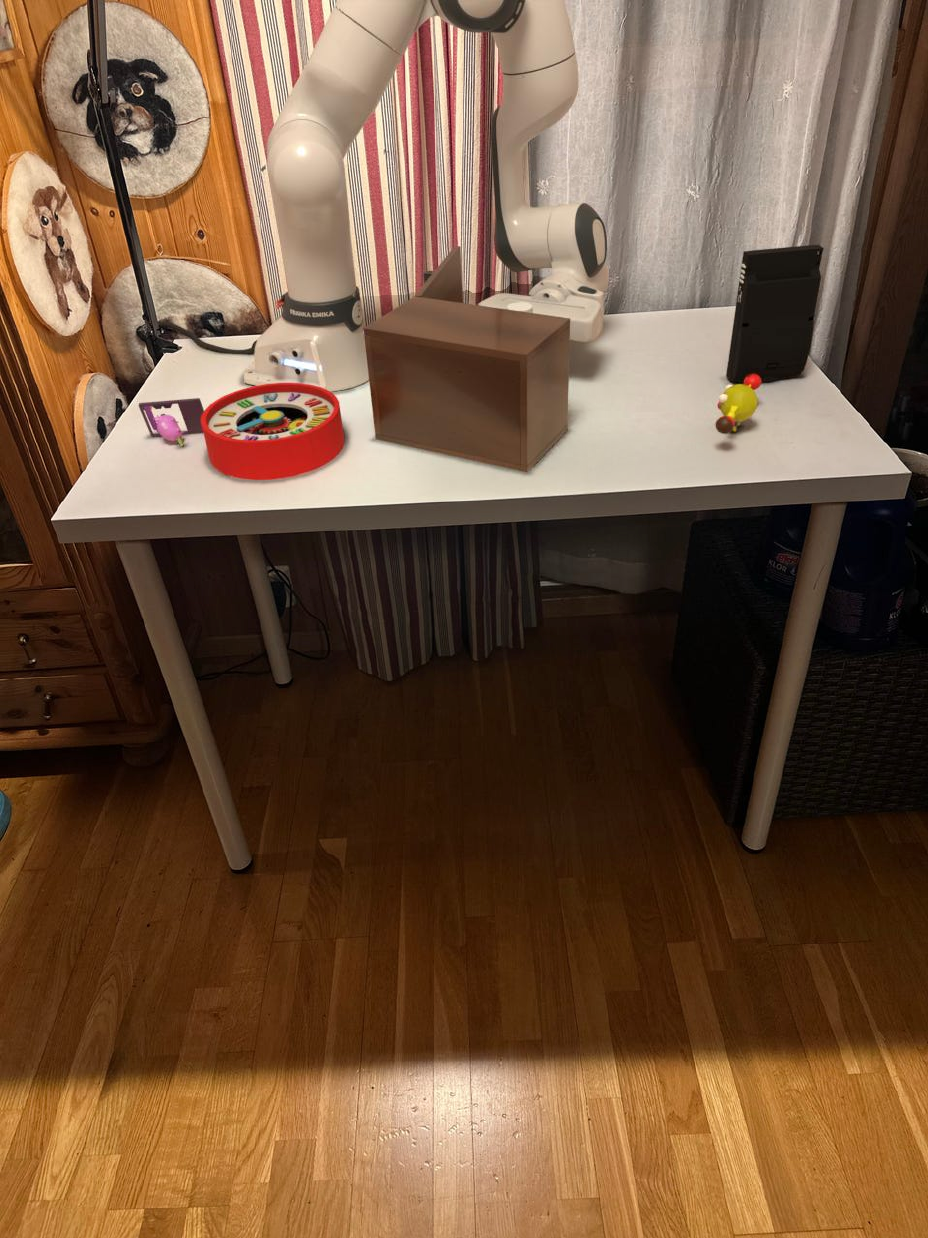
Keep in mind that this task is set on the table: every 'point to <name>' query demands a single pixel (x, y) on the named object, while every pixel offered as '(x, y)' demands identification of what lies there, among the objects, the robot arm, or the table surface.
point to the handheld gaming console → (774, 313)
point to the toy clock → (273, 431)
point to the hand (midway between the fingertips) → (517, 334)
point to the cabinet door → (444, 279)
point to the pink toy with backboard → (168, 424)
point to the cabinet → (469, 380)
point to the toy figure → (737, 403)
